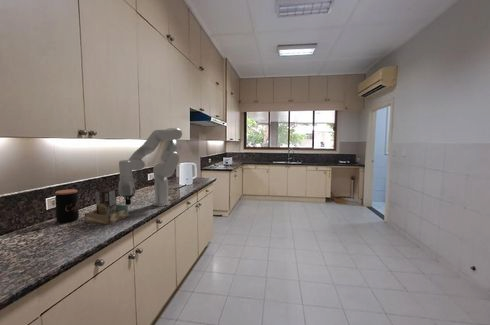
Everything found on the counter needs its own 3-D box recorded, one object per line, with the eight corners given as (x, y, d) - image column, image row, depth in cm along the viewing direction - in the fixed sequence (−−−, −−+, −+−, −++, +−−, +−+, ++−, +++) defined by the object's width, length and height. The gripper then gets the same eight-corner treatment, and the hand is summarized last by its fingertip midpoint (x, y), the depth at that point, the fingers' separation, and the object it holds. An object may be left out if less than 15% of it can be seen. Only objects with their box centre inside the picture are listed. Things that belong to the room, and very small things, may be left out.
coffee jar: (66, 224, 132) (65, 193, 131) (51, 222, 134) (50, 192, 133) (83, 218, 143) (82, 189, 141) (69, 216, 145) (67, 188, 143)
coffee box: (117, 214, 145) (116, 189, 143) (110, 218, 138) (109, 191, 137) (103, 213, 146) (103, 188, 144) (96, 217, 139) (95, 190, 138)
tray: (106, 213, 152) (106, 203, 151) (128, 215, 148) (128, 205, 148) (87, 220, 138) (87, 209, 138) (111, 223, 135) (110, 211, 134)
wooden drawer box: (104, 214, 151) (104, 207, 150) (126, 217, 147) (126, 209, 146) (85, 221, 137) (84, 213, 136) (109, 224, 133) (109, 216, 133)
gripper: (112, 179, 155) (115, 205, 157) (132, 179, 151) (133, 206, 154) (121, 176, 162) (123, 202, 164) (139, 177, 158) (141, 203, 161)
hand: (128, 204), depth 159 cm, fingers closed
